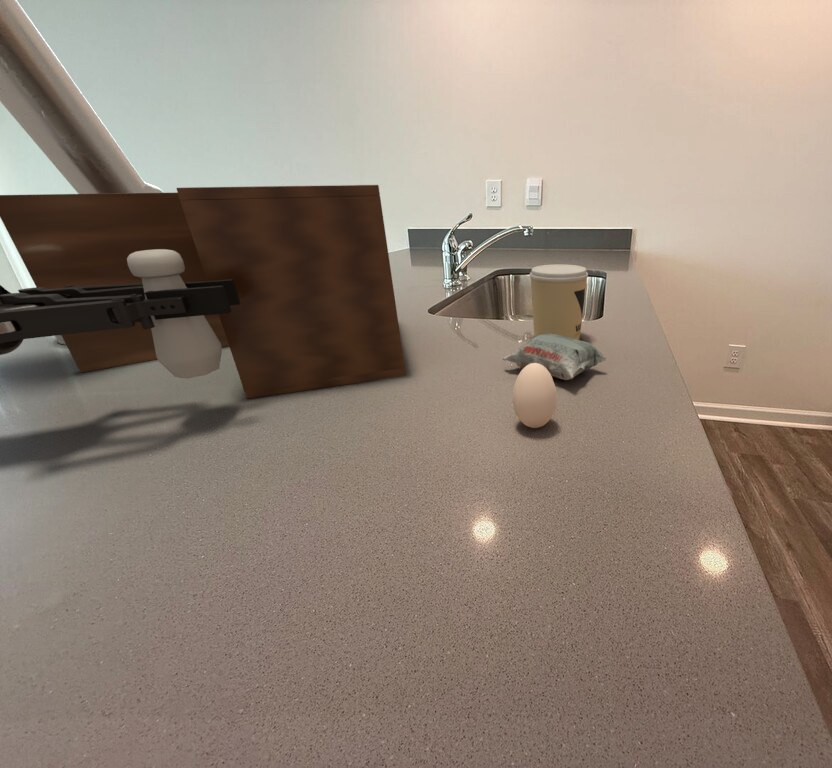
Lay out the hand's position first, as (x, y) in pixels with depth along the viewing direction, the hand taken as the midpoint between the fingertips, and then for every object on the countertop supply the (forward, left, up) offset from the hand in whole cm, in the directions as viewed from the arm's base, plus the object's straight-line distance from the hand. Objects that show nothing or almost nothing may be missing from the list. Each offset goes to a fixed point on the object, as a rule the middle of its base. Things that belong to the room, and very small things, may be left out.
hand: (230, 295), depth 44 cm
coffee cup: (+13, +43, -14) cm, 47 cm away
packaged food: (+21, +31, -14) cm, 40 cm away
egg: (+28, +18, -14) cm, 36 cm away
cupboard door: (-34, 0, -14) cm, 36 cm away
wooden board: (-11, +15, -14) cm, 23 cm away
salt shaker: (-3, -5, -8) cm, 10 cm away
